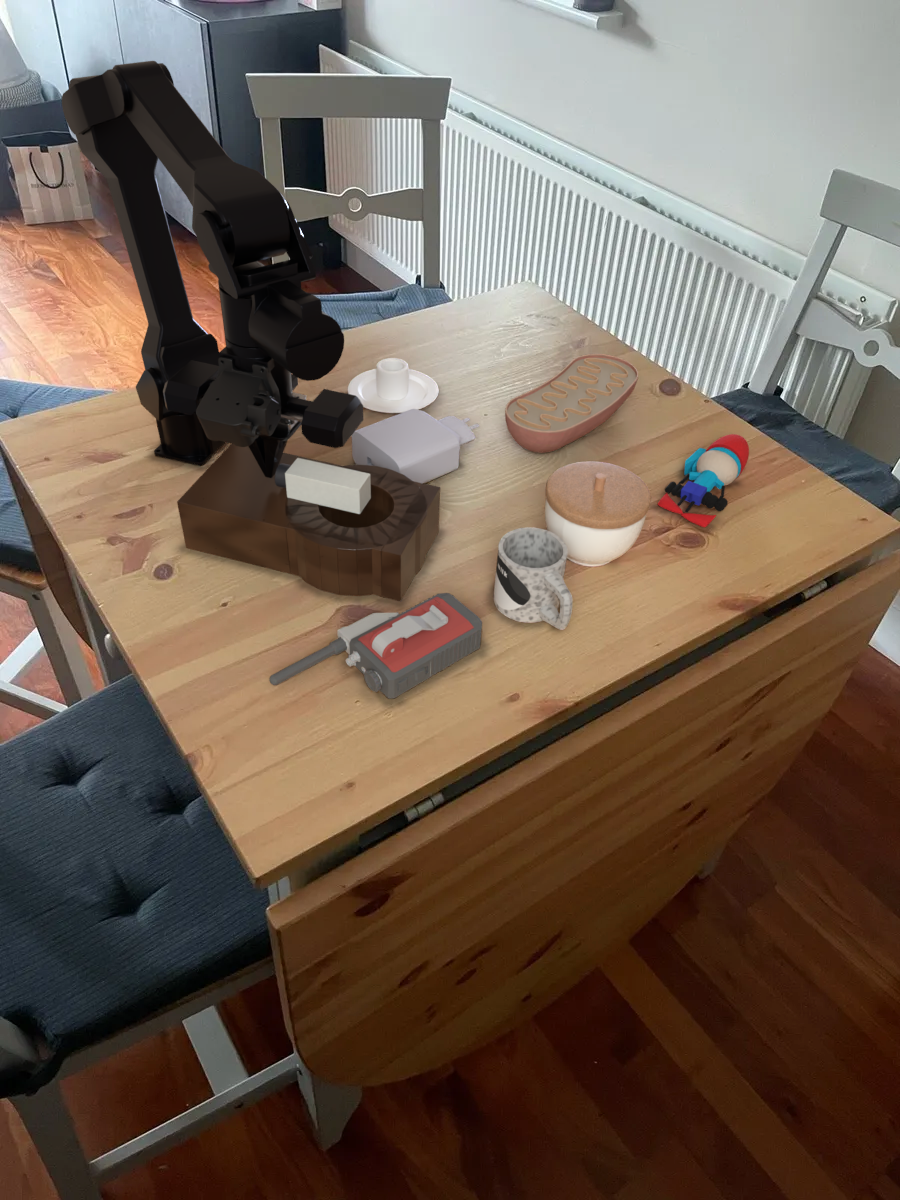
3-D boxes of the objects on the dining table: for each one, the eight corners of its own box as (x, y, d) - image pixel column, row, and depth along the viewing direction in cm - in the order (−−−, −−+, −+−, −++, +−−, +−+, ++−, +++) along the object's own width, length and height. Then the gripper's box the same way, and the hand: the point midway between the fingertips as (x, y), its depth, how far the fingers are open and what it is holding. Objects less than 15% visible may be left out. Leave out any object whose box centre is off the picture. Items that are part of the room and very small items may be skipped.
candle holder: (386, 363, 127) (386, 334, 124) (456, 391, 122) (457, 361, 120) (329, 397, 120) (327, 367, 117) (401, 428, 115) (401, 397, 112)
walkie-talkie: (436, 594, 92) (265, 685, 82) (438, 560, 89) (260, 650, 79) (495, 643, 87) (320, 745, 77) (498, 609, 84) (317, 711, 74)
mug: (481, 590, 93) (485, 538, 88) (535, 571, 95) (542, 520, 91) (535, 652, 86) (542, 600, 82) (592, 630, 89) (602, 579, 85)
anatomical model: (586, 380, 126) (591, 346, 123) (649, 405, 122) (656, 371, 118) (487, 448, 112) (490, 412, 109) (554, 479, 108) (559, 442, 105)
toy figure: (709, 541, 103) (766, 465, 110) (713, 508, 99) (771, 432, 106) (649, 519, 106) (707, 447, 114) (650, 487, 103) (710, 414, 110)
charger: (497, 455, 111) (399, 499, 104) (449, 423, 116) (352, 462, 109) (500, 421, 108) (399, 463, 101) (450, 390, 113) (350, 427, 106)
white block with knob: (274, 494, 93) (271, 470, 91) (287, 479, 96) (284, 454, 94) (360, 514, 92) (359, 489, 90) (371, 498, 94) (370, 473, 92)
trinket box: (657, 550, 99) (675, 478, 92) (596, 595, 93) (611, 521, 87) (580, 506, 104) (592, 435, 98) (518, 546, 98) (526, 474, 92)
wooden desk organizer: (179, 554, 95) (170, 508, 91) (244, 480, 105) (238, 435, 101) (398, 610, 90) (398, 563, 86) (443, 526, 100) (446, 481, 96)
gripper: (116, 352, 79) (147, 498, 90) (313, 395, 76) (322, 542, 86) (182, 302, 87) (204, 441, 98) (364, 338, 84) (366, 479, 94)
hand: (270, 475), depth 94 cm, fingers closed
